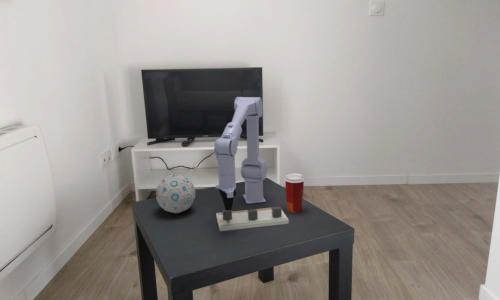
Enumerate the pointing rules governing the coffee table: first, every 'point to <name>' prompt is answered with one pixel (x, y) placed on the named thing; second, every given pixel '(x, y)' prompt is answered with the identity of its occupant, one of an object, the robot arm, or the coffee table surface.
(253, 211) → the breaker
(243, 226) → the breaker panel
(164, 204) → the puzzle ball
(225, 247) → the coffee table surface
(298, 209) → the paper cup
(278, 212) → the block
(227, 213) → the block
